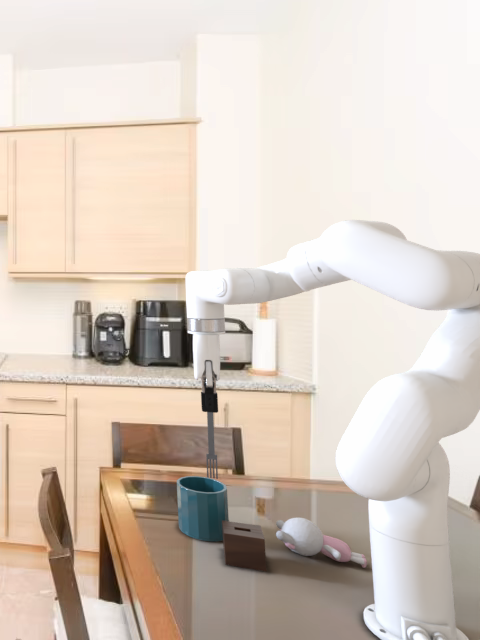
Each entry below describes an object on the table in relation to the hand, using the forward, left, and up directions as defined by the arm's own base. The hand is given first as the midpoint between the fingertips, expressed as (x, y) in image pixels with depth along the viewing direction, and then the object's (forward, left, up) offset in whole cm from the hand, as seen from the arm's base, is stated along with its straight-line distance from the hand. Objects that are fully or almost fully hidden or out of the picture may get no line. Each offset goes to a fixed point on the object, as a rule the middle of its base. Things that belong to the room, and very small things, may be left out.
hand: (209, 411), depth 111 cm
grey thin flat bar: (0, 0, -14) cm, 14 cm away
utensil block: (-7, -5, -27) cm, 28 cm away
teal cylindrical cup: (+4, +2, -27) cm, 28 cm away
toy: (0, -19, -27) cm, 33 cm away
